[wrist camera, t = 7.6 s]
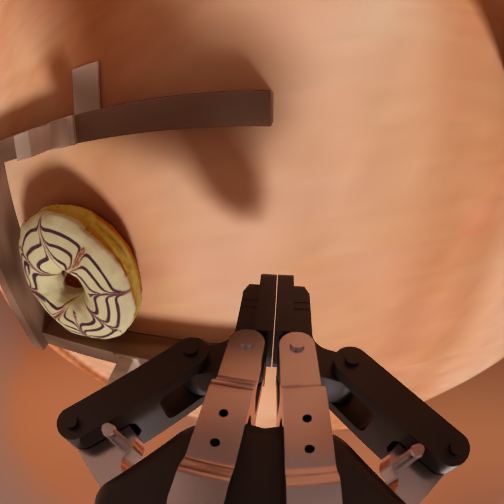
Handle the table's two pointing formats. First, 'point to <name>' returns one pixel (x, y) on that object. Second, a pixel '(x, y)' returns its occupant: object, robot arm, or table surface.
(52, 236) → the decorated donut
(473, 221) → the table surface
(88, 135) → the u-shaped frame
